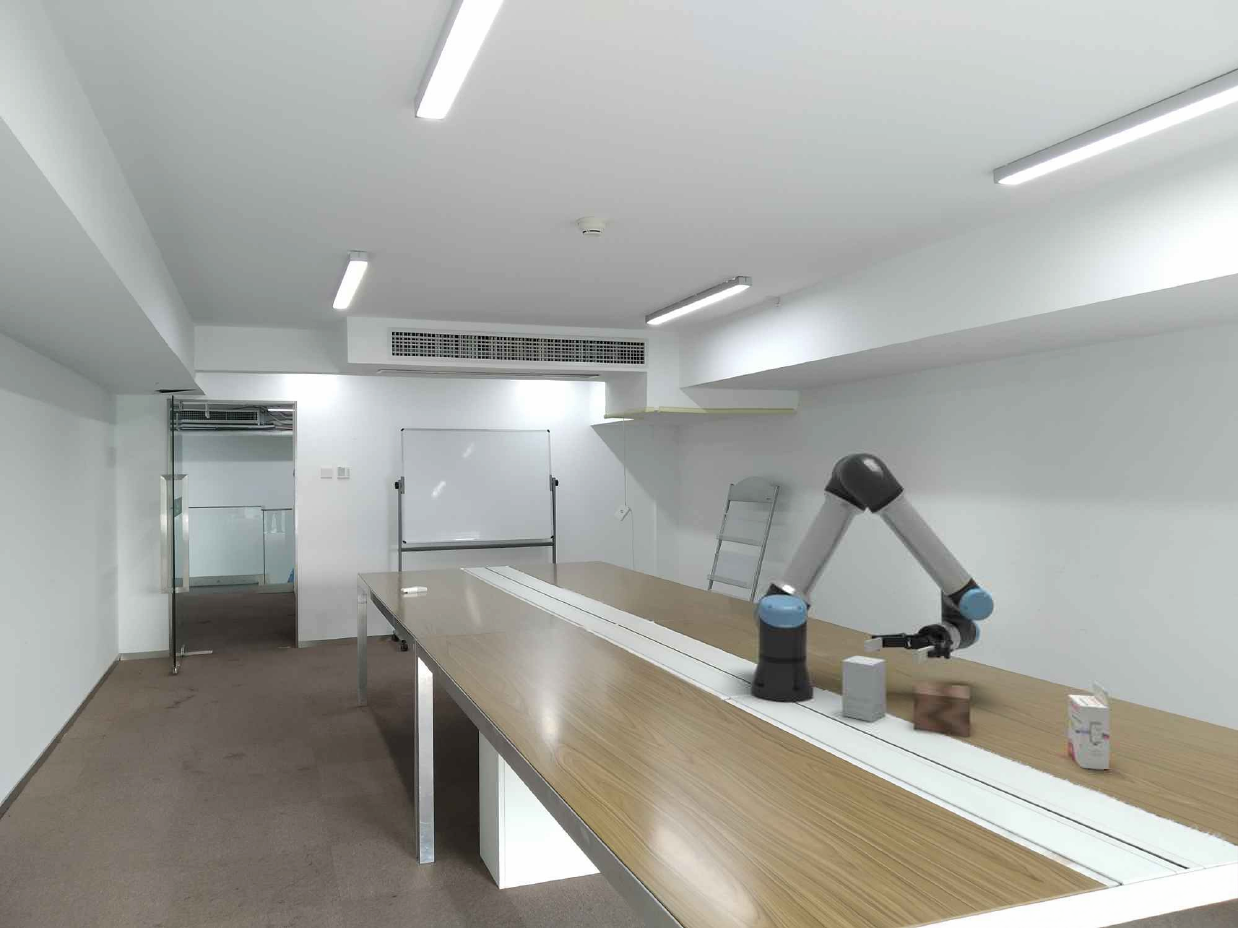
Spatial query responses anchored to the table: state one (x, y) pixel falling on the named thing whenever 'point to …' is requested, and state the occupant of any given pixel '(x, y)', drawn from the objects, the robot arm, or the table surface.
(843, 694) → the supplement box
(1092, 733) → the ink cartridge box
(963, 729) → the walnut block
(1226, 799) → the table surface
